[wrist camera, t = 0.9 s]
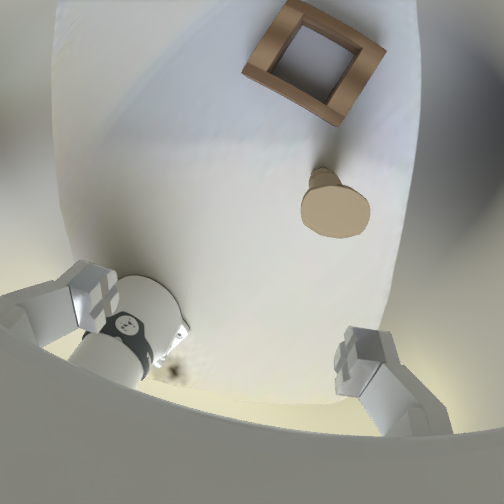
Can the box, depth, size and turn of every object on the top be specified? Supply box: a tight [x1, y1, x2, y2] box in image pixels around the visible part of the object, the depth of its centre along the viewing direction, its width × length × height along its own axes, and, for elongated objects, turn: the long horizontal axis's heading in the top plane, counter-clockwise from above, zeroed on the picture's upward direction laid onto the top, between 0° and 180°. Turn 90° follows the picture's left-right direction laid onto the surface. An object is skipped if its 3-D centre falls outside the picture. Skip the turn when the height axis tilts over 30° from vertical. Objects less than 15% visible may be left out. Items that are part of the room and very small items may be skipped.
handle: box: [301, 167, 370, 238], centre depth 33 cm, size 5×6×15 cm
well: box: [241, 0, 387, 127], centre depth 31 cm, size 12×13×5 cm
